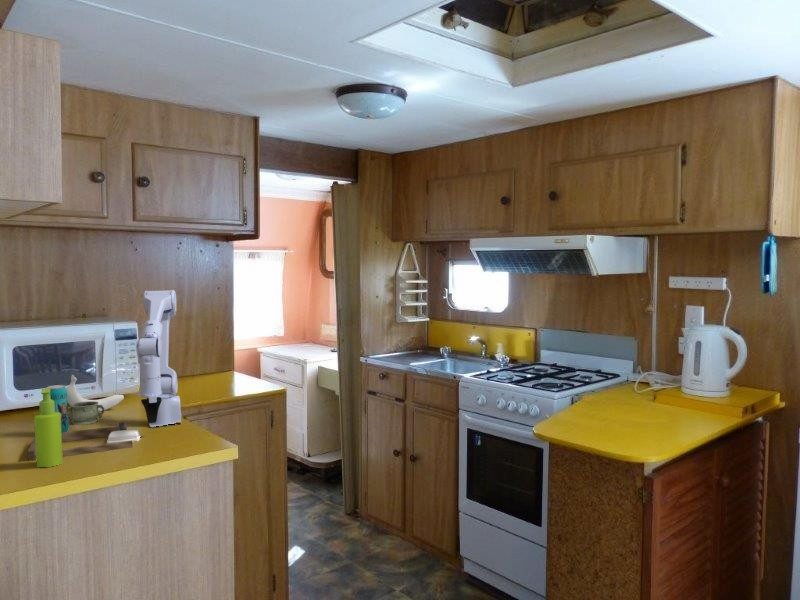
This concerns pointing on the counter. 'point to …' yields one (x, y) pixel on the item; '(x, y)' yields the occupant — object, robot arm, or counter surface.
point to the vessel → (85, 412)
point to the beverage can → (60, 404)
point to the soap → (124, 436)
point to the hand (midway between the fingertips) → (152, 422)
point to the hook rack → (87, 435)
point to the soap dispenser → (48, 433)
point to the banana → (76, 398)
